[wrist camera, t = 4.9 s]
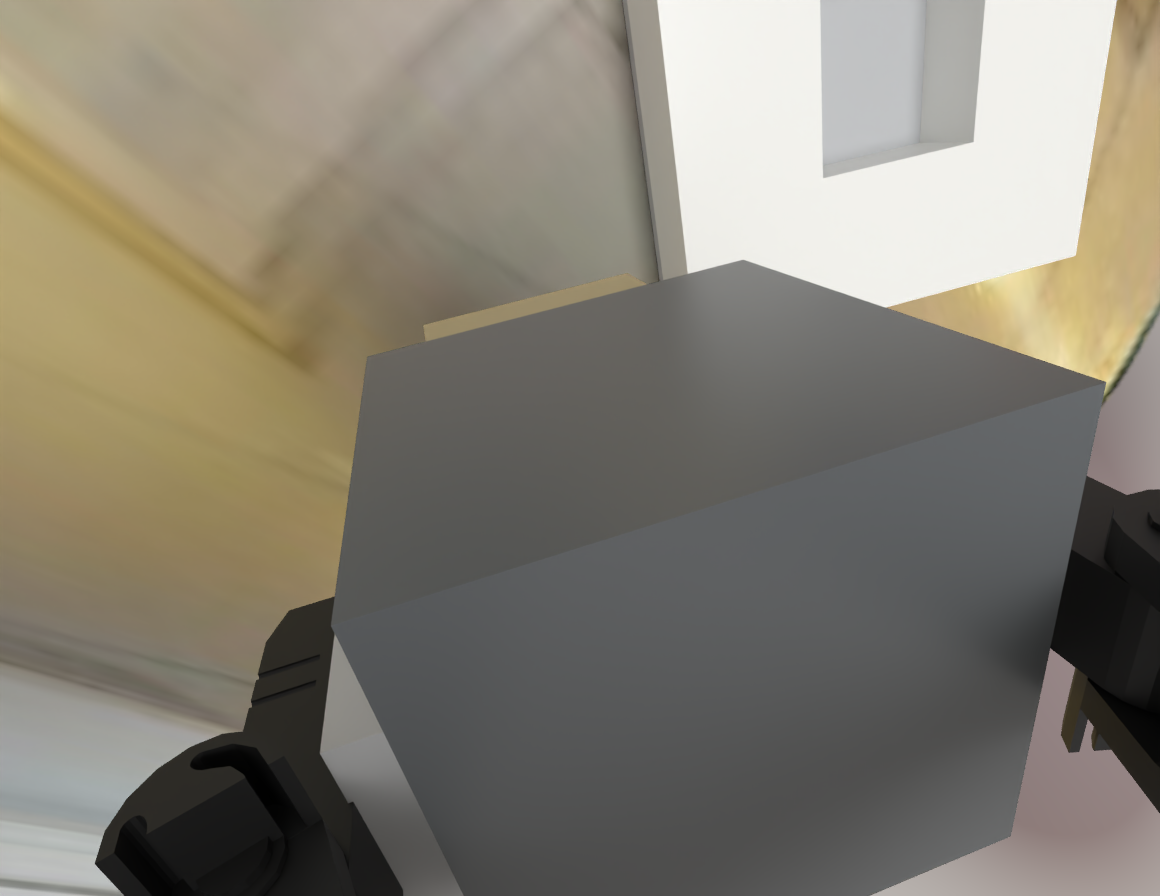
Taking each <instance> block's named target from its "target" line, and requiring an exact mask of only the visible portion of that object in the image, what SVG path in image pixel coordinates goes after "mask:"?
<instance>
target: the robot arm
mask: <svg viewBox="0 0 1160 896" xmlns="http://www.w3.org/2000/svg"><path fill="white" fill-rule="evenodd" d="M334 599H335V597H332V598H329V599H325V600H322V601H319V602H316V603H312V604H309V605H306V606H303V607H299V608H296V609H293V610H290V611H288V613H287V614H286V616H285V617H284V618H283V620H282V621H281V622H280V624H279V625H278V627H277V628H276V629H275V631H274V632H273V634H272V635H271V636H270V638H269V639H268V640H267V642H266V645H265V649H264V653H263V656H262V660H261V664H260V668H259V672H258V675H259V680H256V683H255V687H254V691H253V695H252V699H251V703H252V707H251V708H249V710H248V714H247V718H246V722H245V726H244V730H243V732H235V733H226V734H221V735H219V736H216V737H214V738H211V739H209V740H207V741H204V742H202V743H199V744H197V745H194V746H192V747H190V748H188V749H187V750H185V751H184V752H182V753H181V754H179V755H178V756H176V757H175V758H173V759H172V760H170V761H169V762H167V763H166V764H164V765H163V766H161V767H160V768H158V769H157V770H156V771H155V772H154V773H153V774H152V775H151V776H150V777H149V778H148V779H147V780H146V781H145V782H144V783H142V784H141V785H140V786H139V787H138V788H137V789H136V790H135V791H134V792H133V793H132V794H131V795H130V796H129V797H128V798H127V799H126V801H125V802H124V804H123V805H122V807H121V808H120V810H119V811H118V813H117V814H116V816H115V817H114V819H113V820H112V822H111V823H110V825H109V826H108V827H107V829H106V830H105V832H104V836H103V839H102V842H101V845H100V848H99V852H98V855H97V858H96V861H95V865H96V866H97V867H98V868H99V869H100V870H101V871H102V872H103V873H104V874H105V875H106V876H107V878H108V879H109V880H110V881H111V882H112V883H113V884H114V885H115V886H116V887H117V888H118V889H119V890H120V891H121V893H122V894H123V895H124V896H463V893H462V891H461V889H460V887H459V885H458V883H457V881H456V879H455V877H454V875H453V873H452V871H451V869H450V867H449V865H448V863H447V861H446V859H445V857H444V855H443V853H442V851H441V849H440V847H439V845H438V843H437V841H436V839H435V837H434V834H433V832H432V830H431V828H430V826H429V824H428V822H427V820H426V818H425V816H424V814H423V812H422V810H421V808H420V806H419V804H418V802H417V800H416V798H415V796H414V794H413V792H412V790H411V788H410V786H409V784H408V782H407V780H406V778H405V775H404V773H403V771H402V769H401V767H400V765H399V763H398V761H397V759H396V757H395V755H394V753H393V751H392V749H391V747H390V745H389V743H388V741H387V739H386V737H385V735H384V733H383V731H382V729H381V727H380V725H379V723H378V721H377V719H376V716H375V714H374V712H373V710H372V708H371V706H370V704H369V702H368V700H367V698H366V696H365V694H364V692H363V690H362V688H361V686H360V684H359V682H358V680H357V678H356V676H355V674H354V672H353V670H352V668H351V666H350V664H349V662H348V660H347V658H346V655H345V653H344V651H343V649H342V647H341V645H340V643H339V641H338V639H337V637H336V635H335V633H334V631H333V629H332V627H331V621H332V614H333V606H334ZM1050 648H1051V649H1052V650H1053V651H1055V652H1056V653H1057V654H1059V655H1060V656H1061V657H1063V658H1064V659H1065V660H1066V661H1068V662H1069V663H1070V664H1072V665H1073V666H1074V667H1075V672H1074V676H1073V680H1072V684H1071V689H1070V693H1069V697H1068V701H1067V705H1066V710H1065V714H1064V718H1063V724H1062V732H1061V736H1062V738H1063V740H1064V742H1065V745H1066V747H1067V749H1068V752H1069V753H1070V752H1079V750H1080V746H1081V743H1082V739H1083V736H1084V732H1085V728H1086V724H1087V720H1088V719H1089V721H1090V722H1091V723H1092V725H1093V726H1094V729H1093V732H1092V736H1091V739H1092V748H1093V750H1094V751H1096V750H1112V751H1113V752H1114V754H1115V755H1116V756H1117V758H1118V759H1119V760H1120V762H1121V763H1122V764H1123V765H1124V767H1125V768H1126V769H1127V771H1128V772H1129V773H1130V775H1131V776H1132V777H1133V779H1134V780H1135V781H1136V783H1137V784H1138V785H1139V787H1140V788H1141V789H1142V791H1143V792H1144V793H1145V794H1146V796H1147V797H1148V798H1149V800H1150V801H1151V802H1152V804H1153V805H1154V806H1155V808H1156V809H1157V810H1158V812H1159V813H1160V490H1146V491H1142V492H1138V493H1134V494H1130V495H1125V494H1123V493H1121V492H1119V491H1117V490H1115V489H1113V488H1111V487H1109V486H1107V485H1104V484H1102V483H1100V482H1098V481H1096V480H1094V479H1092V478H1090V477H1088V476H1086V480H1085V485H1084V490H1083V494H1082V499H1081V504H1080V509H1079V513H1078V518H1077V523H1076V528H1075V532H1074V537H1073V542H1072V547H1071V551H1070V556H1069V561H1068V566H1067V570H1066V575H1065V580H1064V585H1063V589H1062V594H1061V599H1060V604H1059V608H1058V613H1057V618H1056V623H1055V627H1054V632H1053V637H1052V642H1051V646H1050Z"/></svg>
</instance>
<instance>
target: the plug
mask: <svg viewBox="0 0 1160 896" xmlns="http://www.w3.org/2000/svg"><path fill="white" fill-rule="evenodd" d="M423 328H424V335H425V341H426V342H422V343H418V344H414V345H411V346H407V347H403V348H399V349H395V350H391V351H387V352H383V353H380V354H376V355H372V356H368V357H367V362H366V370H365V377H364V385H363V392H362V399H361V407H360V414H359V422H358V429H357V436H356V444H355V451H354V459H353V466H352V473H351V481H350V488H349V495H348V503H347V510H346V518H345V525H344V532H343V540H342V547H341V555H340V562H339V569H338V577H337V584H336V592H335V599H334V606H333V614H332V621H331V627H332V629H333V631H334V633H335V635H336V637H337V639H338V641H339V643H340V645H341V647H342V649H343V651H344V653H345V655H346V658H347V660H348V662H349V664H350V666H351V668H352V670H353V672H354V674H355V676H356V678H357V680H358V682H359V684H360V686H361V688H362V690H363V692H364V694H365V696H366V698H367V700H368V702H369V704H370V706H371V708H372V710H373V712H374V714H375V716H376V719H377V721H378V723H379V725H380V727H381V729H382V731H383V733H384V735H385V737H386V739H387V741H388V743H389V745H390V747H391V749H392V751H393V753H394V755H395V757H396V759H397V761H398V763H399V765H400V767H401V769H402V771H403V773H404V775H405V778H406V780H407V782H408V784H409V786H410V788H411V790H412V792H413V794H414V796H415V798H416V800H417V802H418V804H419V806H420V808H421V810H422V812H423V814H424V816H425V818H426V820H427V822H428V824H429V826H430V828H431V830H432V832H433V834H434V837H435V839H436V841H437V843H438V845H439V847H440V849H441V851H442V853H443V855H444V857H445V859H446V861H447V863H448V865H449V867H450V869H451V871H452V873H453V875H454V877H455V879H456V881H457V883H458V885H459V887H460V889H461V891H462V893H463V896H870V895H872V894H874V893H877V892H879V891H882V890H884V889H886V888H889V887H891V886H894V885H896V884H898V883H901V882H903V881H905V880H908V879H910V878H913V877H915V876H917V875H920V874H922V873H925V872H927V871H929V870H932V869H934V868H936V867H939V866H941V865H944V864H946V863H948V862H950V861H953V860H955V859H958V858H960V857H962V856H965V855H967V854H970V853H972V852H974V851H976V850H979V849H982V848H984V847H986V846H989V845H991V844H993V843H996V842H998V841H1000V840H1003V839H1005V838H1008V837H1010V836H1011V832H1012V827H1013V822H1014V817H1015V813H1016V808H1017V803H1018V798H1019V794H1020V789H1021V784H1022V779H1023V775H1024V770H1025V765H1026V760H1027V755H1028V750H1029V746H1030V741H1031V737H1032V732H1033V727H1034V722H1035V717H1036V713H1037V708H1038V703H1039V699H1040V694H1041V689H1042V684H1043V680H1044V675H1045V670H1046V665H1047V661H1048V655H1049V651H1050V646H1051V642H1052V637H1053V632H1054V627H1055V623H1056V618H1057V613H1058V608H1059V604H1060V599H1061V594H1062V589H1063V585H1064V580H1065V575H1066V570H1067V566H1068V561H1069V556H1070V551H1071V547H1072V542H1073V537H1074V532H1075V528H1076V523H1077V518H1078V513H1079V509H1080V504H1081V499H1082V494H1083V490H1084V485H1085V480H1086V475H1087V470H1088V466H1089V461H1090V456H1091V451H1092V447H1093V442H1094V437H1095V433H1096V428H1097V423H1098V418H1099V414H1100V409H1101V404H1102V400H1103V395H1104V390H1105V385H1106V382H1104V381H1101V380H1098V379H1095V378H1092V377H1089V376H1086V375H1083V374H1080V373H1077V372H1074V371H1072V370H1069V369H1066V368H1063V367H1060V366H1057V365H1054V364H1051V363H1048V362H1045V361H1042V360H1039V359H1036V358H1033V357H1030V356H1027V355H1024V354H1021V353H1018V352H1015V351H1012V350H1009V349H1006V348H1003V347H1000V346H997V345H995V344H992V343H989V342H986V341H983V340H980V339H977V338H974V337H971V336H968V335H965V334H962V333H959V332H956V331H953V330H950V329H947V328H944V327H941V326H938V325H935V324H932V323H929V322H926V321H923V320H920V319H918V318H915V317H912V316H909V315H906V314H903V313H900V312H897V311H894V310H891V309H888V308H885V307H882V306H879V305H876V304H873V303H870V302H867V301H864V300H861V299H858V298H855V297H852V296H849V295H846V294H844V293H841V292H838V291H835V290H832V289H829V288H826V287H823V286H820V285H817V284H814V283H811V282H808V281H805V280H802V279H799V278H796V277H793V276H790V275H787V274H784V273H781V272H778V271H775V270H772V269H769V268H767V267H764V266H761V265H758V264H755V263H752V262H749V261H746V260H740V261H736V262H732V263H728V264H724V265H720V266H716V267H713V268H709V269H705V270H701V271H697V272H693V273H689V274H685V275H682V276H678V277H674V278H670V279H666V280H662V281H658V282H654V283H651V284H646V283H644V282H642V281H640V280H638V279H637V278H635V277H633V276H631V275H630V274H628V273H626V274H622V275H618V276H614V277H610V278H606V279H602V280H598V281H594V282H590V283H586V284H582V285H578V286H575V287H571V288H567V289H563V290H559V291H555V292H551V293H547V294H543V295H539V296H535V297H531V298H527V299H523V300H520V301H516V302H512V303H508V304H504V305H500V306H496V307H492V308H488V309H484V310H480V311H476V312H472V313H468V314H465V315H461V316H457V317H453V318H449V319H445V320H441V321H437V322H433V323H429V324H425V325H423Z"/></svg>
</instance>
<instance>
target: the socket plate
mask: <svg viewBox="0 0 1160 896" xmlns="http://www.w3.org/2000/svg"><path fill="white" fill-rule="evenodd" d="M622 1H623V9H624V16H625V24H626V31H627V39H628V46H629V54H630V61H631V69H632V77H633V84H634V92H635V99H636V107H637V114H638V122H639V129H640V137H641V144H642V152H643V160H644V167H645V175H646V182H647V190H648V197H649V205H650V212H651V220H652V227H653V235H654V243H655V250H656V258H657V265H658V273H659V280H660V281H662V280H666V279H670V278H674V277H678V276H682V275H685V274H689V273H693V272H697V271H701V270H705V269H709V268H713V267H716V266H720V265H724V264H728V263H732V262H736V261H740V260H746V261H749V262H752V263H755V264H758V265H761V266H764V267H767V268H769V269H772V270H775V271H778V272H781V273H784V274H787V275H790V276H793V277H796V278H799V279H802V280H805V281H808V282H811V283H814V284H817V285H820V286H823V287H826V288H829V289H832V290H835V291H838V292H841V293H844V294H846V295H849V296H852V297H855V298H858V299H861V300H864V301H867V302H870V303H873V304H876V305H879V306H882V307H885V308H886V307H889V306H893V305H897V304H900V303H904V302H908V301H911V300H915V299H919V298H922V297H926V296H930V295H933V294H937V293H941V292H944V291H948V290H952V289H955V288H959V287H963V286H966V285H970V284H974V283H977V282H981V281H985V280H988V279H992V278H996V277H999V276H1003V275H1007V274H1010V273H1014V272H1018V271H1021V270H1025V269H1029V268H1032V267H1036V266H1040V265H1043V264H1047V263H1051V262H1054V261H1058V260H1062V259H1065V258H1069V257H1073V256H1076V250H1077V244H1078V237H1079V231H1080V225H1081V219H1082V212H1083V206H1084V200H1085V194H1086V188H1087V181H1088V175H1089V169H1090V163H1091V157H1092V150H1093V144H1094V138H1095V132H1096V126H1097V119H1098V113H1099V107H1100V101H1101V94H1102V88H1103V82H1104V76H1105V70H1106V63H1107V57H1108V51H1109V45H1110V39H1111V32H1112V26H1113V20H1114V14H1115V8H1116V1H1117V0H622Z"/></svg>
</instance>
